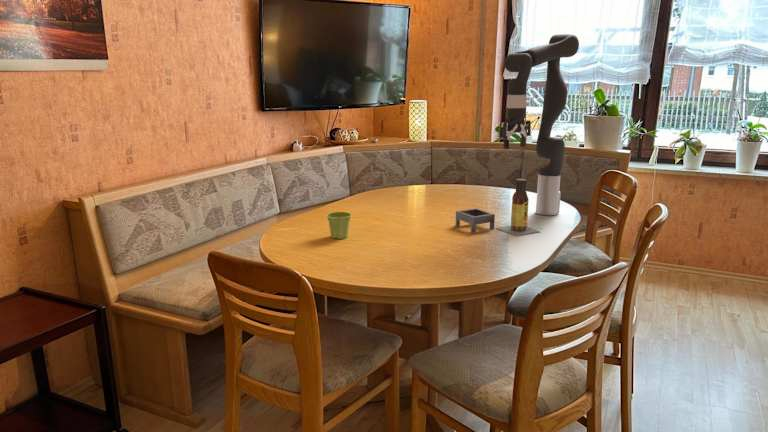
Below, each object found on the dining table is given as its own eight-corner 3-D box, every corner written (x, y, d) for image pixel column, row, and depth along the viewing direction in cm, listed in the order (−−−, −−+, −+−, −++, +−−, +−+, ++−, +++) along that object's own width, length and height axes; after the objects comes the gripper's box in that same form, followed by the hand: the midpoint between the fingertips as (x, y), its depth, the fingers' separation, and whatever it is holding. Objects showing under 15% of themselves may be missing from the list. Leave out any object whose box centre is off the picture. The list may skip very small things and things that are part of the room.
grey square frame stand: (475, 222, 238) (476, 208, 237) (494, 228, 228) (494, 214, 227) (455, 225, 233) (456, 211, 232) (473, 232, 224) (473, 217, 222)
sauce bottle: (527, 232, 223) (530, 181, 218) (510, 231, 224) (513, 180, 219) (526, 227, 229) (529, 178, 224) (510, 226, 230) (513, 177, 225)
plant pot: (332, 242, 211) (332, 219, 209) (323, 235, 219) (322, 213, 217) (355, 238, 215) (355, 216, 213) (345, 232, 224) (345, 210, 221)
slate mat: (519, 224, 234) (519, 224, 234) (540, 232, 224) (540, 231, 224) (496, 228, 229) (496, 227, 228) (516, 236, 218) (516, 235, 218)
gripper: (523, 104, 231) (521, 145, 236) (495, 106, 225) (494, 148, 229) (536, 106, 225) (534, 147, 230) (509, 108, 218) (507, 150, 223)
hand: (514, 147), depth 229 cm, fingers open, 8 cm apart
